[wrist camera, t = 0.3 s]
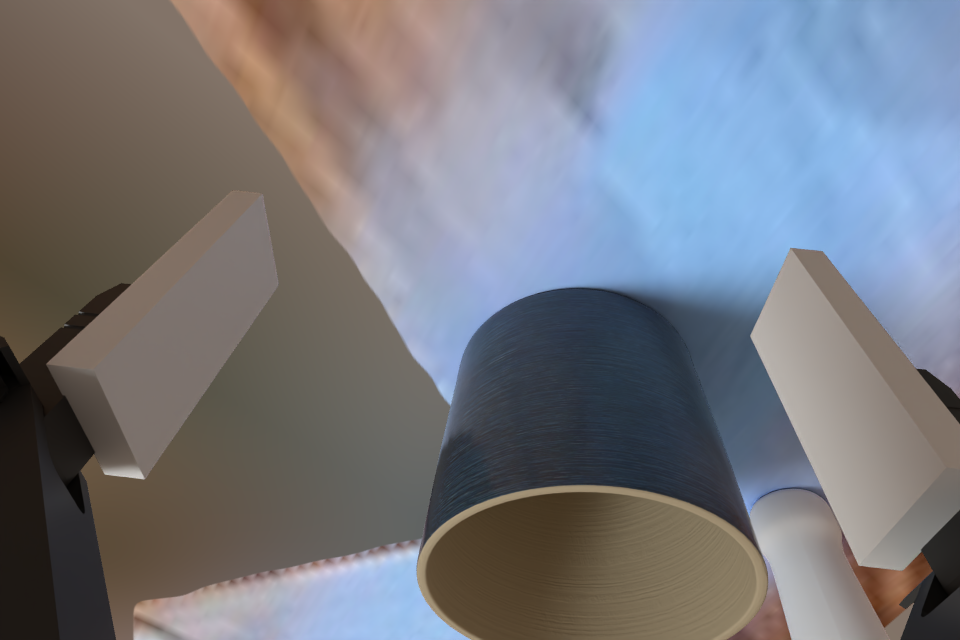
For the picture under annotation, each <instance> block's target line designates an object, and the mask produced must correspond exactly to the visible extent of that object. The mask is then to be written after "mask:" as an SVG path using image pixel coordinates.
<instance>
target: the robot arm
mask: <svg viewBox="0 0 960 640" xmlns="http://www.w3.org/2000/svg"><path fill="white" fill-rule="evenodd" d="M278 285H279V283H278V277H277V273H276V266H275V260H274V255H273V249H272V244H271V238H270V233H269V227H268V221H267V216H266V210H265V205H264V199H263V194H262V193H253V192H244V191H235V190H232V191H231V193H229V194H228V195H227V196H226V197H225V198H224V199H223V200H222V201H221V202H220V203H219V204H217V205H216V206H215V207H214V208H213V209H212V210H211V211H210V212H209V213H208V214H207V215H206V216H205V217H203V218H202V219H201V220H200V221H199V222H198V223H197V224H196V225H195V226H194V227H193V228H192V229H191V230H190V231H189V232H187V233H186V234H185V235H184V236H183V237H182V238H181V239H180V240H179V241H178V242H177V243H176V244H174V245H173V246H172V247H171V248H170V249H169V250H168V251H167V252H166V253H165V254H164V255H163V256H162V257H161V258H159V259H158V261H156V262H155V263H154V264H153V265H152V266H151V267H150V268H149V269H148V270H147V271H146V272H144V273H143V274H142V275H141V276H140V277H139V278H138V279H137V280H136V281H135V282H134V283H133V284H122V283H121V284H119V285H117V286H115V287H113V288H111V289H109V290H107V291H105V292H103V293H101V294H99V295H97V296H96V297H95V298H94V299H92V300H91V301H90V302H89V303H88V304H87V305H86V306H85V307H84V308H82V309H81V310H80V311H79V314H78V315H74V316H73V317H72V318H71V319H70V320H69V321H68V322H66V323H65V326H64V328H60V329H58V331H56V332H55V333H54V334H53V335H52V336H51V337H50V338H48V339H47V340H46V341H45V342H44V343H43V344H42V345H40V346H39V347H38V348H37V349H36V350H35V351H34V352H33V353H32V354H30V355H29V356H28V357H27V358H26V359H25V360H24V361H22V362H21V363H20V364H19V363H18V361H17V359H16V358H15V356H14V354H13V352H12V351H11V349H10V347H9V345H8V344H7V342H6V340H5V338H3V337H1V336H0V640H116V637H115V632H114V627H113V621H112V616H111V611H110V605H109V600H108V595H107V589H106V584H105V578H104V573H103V567H102V562H101V557H100V552H99V546H98V541H97V535H96V530H95V524H94V519H93V514H92V508H91V503H90V498H89V492H88V487H87V482H86V480H85V478H84V476H83V475H82V473H81V471H80V470H81V469H82V468H83V466H84V465H85V464H86V463H87V462H88V460H89V459H90V458H91V457H92V455H93V454H94V455H95V457H96V459H97V461H98V463H99V464H100V466H101V468H102V470H103V472H104V474H106V475H115V476H123V477H131V478H139V479H145V478H146V477H147V475H148V474H149V472H150V471H151V469H152V468H153V466H154V465H155V464H156V462H157V461H158V459H159V458H160V456H161V455H162V453H163V452H164V451H165V449H166V448H167V446H168V445H169V443H170V442H171V440H172V439H173V437H174V436H175V434H176V433H177V432H178V430H179V429H180V427H181V426H182V424H183V423H184V422H185V420H186V418H187V417H188V416H189V414H190V413H191V411H192V410H193V408H194V407H195V406H196V404H197V403H198V401H199V400H200V398H201V397H202V395H203V394H204V392H205V391H206V390H207V388H208V387H209V385H210V384H211V382H212V381H213V379H214V378H215V377H216V375H217V374H218V372H219V371H220V369H221V368H222V366H223V365H224V364H225V362H226V361H227V359H228V358H229V356H230V355H231V353H232V352H233V350H234V349H235V348H236V346H237V345H238V343H239V342H240V340H241V339H242V337H243V336H244V334H245V333H246V331H247V330H248V329H249V327H250V326H251V324H252V323H253V321H254V320H255V319H256V317H257V315H258V314H259V313H260V311H261V310H262V308H263V307H264V305H265V304H266V303H267V301H268V300H269V298H270V297H271V295H272V294H273V293H274V291H275V289H276V288H277V287H278ZM750 337H751V339H752V341H753V343H754V345H755V347H756V349H757V351H758V353H759V356H760V358H761V360H762V362H763V364H764V366H765V368H766V370H767V372H768V375H769V377H770V379H771V381H772V383H773V385H774V387H775V389H776V391H777V394H778V396H779V398H780V400H781V402H782V404H783V406H784V408H785V410H786V413H787V415H788V417H789V419H790V421H791V423H792V425H793V427H794V429H795V432H796V434H797V436H798V438H799V440H800V442H801V444H802V446H803V448H804V451H805V453H806V455H807V457H808V459H809V461H810V463H811V465H812V467H813V470H814V472H815V474H816V476H817V478H818V480H819V482H820V484H821V486H822V489H823V491H824V493H825V495H826V497H827V499H828V501H829V503H830V505H831V508H832V510H833V512H834V514H835V516H836V518H837V520H838V522H839V524H840V527H841V529H842V531H843V533H844V535H845V537H846V539H847V541H848V543H849V546H850V548H851V550H852V552H853V554H854V556H855V558H856V560H857V562H858V565H859V566H867V567H875V568H884V569H892V570H900V571H903V570H904V569H905V568H906V567H907V566H908V565H909V564H910V563H911V562H912V561H913V560H914V559H915V558H916V557H917V556H918V555H919V554H920V553H921V552H922V553H923V554H924V556H925V558H926V559H927V561H928V563H929V565H930V566H931V568H932V570H933V572H932V573H931V574H930V575H929V576H928V577H926V578H925V579H924V580H923V581H922V582H921V583H920V584H919V585H918V586H917V587H916V588H915V589H914V590H913V591H912V592H911V593H910V594H908V595H907V596H906V597H905V598H904V599H903V601H902V602H901V603H900V604H899V605H900V606H902V607H903V608H905V609H906V608H908V607H909V606H910V605H911V604H912V603H914V605H913V608H912V610H911V613H910V616H909V619H908V621H907V624H906V626H905V629H904V632H903V635H902V637H901V640H960V399H959V398H958V397H957V395H956V394H955V393H954V392H953V391H952V389H951V388H949V387H948V386H947V385H945V384H944V383H943V382H941V381H940V380H939V379H937V378H936V377H935V376H933V375H932V374H931V373H929V372H928V371H927V370H923V369H916V368H915V367H914V366H913V365H912V363H911V362H910V361H909V360H908V358H907V357H906V356H905V355H904V353H903V352H902V351H901V349H900V348H899V347H898V346H897V344H896V343H895V342H894V341H893V339H892V338H891V337H890V336H889V334H888V333H887V332H886V331H885V329H884V328H883V327H882V326H881V324H880V323H879V322H878V321H877V319H876V318H875V317H874V315H873V314H872V313H871V312H870V310H869V309H868V308H867V307H866V305H865V304H864V303H863V302H862V300H861V299H860V298H859V297H858V295H857V294H856V293H855V292H854V290H853V289H852V288H851V287H850V285H849V284H848V283H847V281H846V280H845V279H844V278H843V276H842V275H841V274H840V273H839V271H838V270H837V269H836V268H835V266H834V265H833V264H832V263H831V261H830V260H829V259H828V258H827V256H826V255H825V254H824V253H823V251H815V250H805V249H796V248H790V251H789V253H788V255H787V257H786V259H785V261H784V264H783V266H782V268H781V270H780V272H779V274H778V277H777V279H776V281H775V283H774V285H773V288H772V290H771V292H770V294H769V296H768V298H767V301H766V303H765V305H764V307H763V309H762V311H761V314H760V316H759V318H758V320H757V322H756V324H755V327H754V329H753V331H752V333H751V335H750Z"/></svg>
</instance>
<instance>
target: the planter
mask: <svg viewBox="0 0 960 640" xmlns="http://www.w3.org/2000/svg"><path fill="white" fill-rule="evenodd" d="M417 580H418V584H419V588H420V590H421V593H422V595H423V597H424V599H425V600H426V602H427V603H428V605H429V606H430V607H431V609H432V610H433V611H434V612H435V613H436V614H437V615H438V616H439V617H440V618H441V619H442V620H443V621H444V622H445V623H447V624H448V625H449V626H450V627H452V628H453V629H455V630H456V631H458V632H459V633H461V634H463V635H464V636H466V637H468V638H470V639H471V640H727V639H728V638H730V637H732V636H733V635H735V634H736V633H737V632H739V631H740V630H741V629H743V628H744V627H745V626H746V625H747V624H748V623H749V622H750V621H751V620H752V619H753V618H754V617H755V615H756V614H757V613H758V611H759V610H760V608H761V606H762V604H763V602H764V600H765V597H766V594H767V590H768V572H767V568H766V564H765V561H764V558H763V555H762V552H761V549H760V546H759V544H758V541H757V538H756V535H755V532H754V529H753V526H752V523H751V521H750V518H749V515H748V512H747V509H746V506H745V503H744V501H743V498H742V495H741V492H740V489H739V486H738V483H737V481H736V478H735V475H734V472H733V469H732V467H731V464H730V461H729V458H728V456H727V453H726V450H725V447H724V445H723V442H722V439H721V437H720V434H719V431H718V429H717V426H716V423H715V421H714V418H713V416H712V413H711V410H710V408H709V405H708V403H707V400H706V397H705V395H704V392H703V390H702V387H701V384H700V382H699V379H698V376H697V374H696V371H695V368H694V365H693V363H692V360H691V357H690V355H689V352H688V350H687V347H686V345H685V344H684V342H683V340H682V338H681V337H680V335H679V334H678V332H677V331H676V330H675V329H674V328H673V326H672V325H671V324H670V323H669V322H668V321H667V320H666V319H664V318H663V317H662V316H661V315H659V314H658V313H657V312H655V311H654V310H652V309H651V308H649V307H647V306H646V305H644V304H642V303H640V302H638V301H635V300H633V299H630V298H628V297H625V296H622V295H618V294H615V293H610V292H605V291H600V290H591V289H564V290H555V291H549V292H544V293H540V294H536V295H533V296H529V297H527V298H524V299H521V300H519V301H517V302H514V303H512V304H510V305H509V306H507V307H505V308H503V309H502V310H500V311H499V312H497V313H496V314H494V315H493V316H492V317H490V318H489V319H488V320H487V321H486V322H485V323H484V324H483V325H482V326H481V327H480V328H479V329H478V330H477V331H476V333H475V334H474V335H473V336H472V338H471V340H470V341H469V343H468V345H467V347H466V349H465V351H464V354H463V356H462V360H461V363H460V367H459V372H458V377H457V381H456V386H455V390H454V394H453V399H452V403H451V407H450V411H449V415H448V420H447V424H446V428H445V433H444V437H443V441H442V446H441V450H440V454H439V459H438V464H437V469H436V473H435V478H434V482H433V487H432V492H431V497H430V502H429V506H428V512H427V517H426V521H425V526H424V531H423V536H422V541H421V546H420V551H419V556H418V561H417Z"/></svg>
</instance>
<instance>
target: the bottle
mask: <svg viewBox="0 0 960 640" xmlns="http://www.w3.org/2000/svg"><path fill="white" fill-rule="evenodd" d="M750 521H751V523H752V526H753V529H754V532H755V535H756V538H757V541H758V544H759V546H760V549H761V552H762V554H763V555H764V556H765V557H766V558H767V560H768V561H769V563H770V566H771V568H772V571H773V574H774V577H775V581H776V584H777V588H778V592H779V595H780V599H781V603H782V606H783V610H784V613H785V617H786V621H787V624H788V628H789V632H790V635H791V639H792V640H890V639H889V637H888V635H887V633H886V631H885V629H884V627H883V626H882V624H881V622H880V620H879V618H878V616H877V614H876V613H875V611H874V609H873V607H872V605H871V603H870V601H869V600H868V598H867V596H866V594H865V592H864V590H863V588H862V587H861V585H860V583H859V581H858V579H857V577H856V575H855V574H854V572H853V570H852V568H851V566H850V564H849V562H848V560H847V558H846V556H845V554H844V551H843V546H842V533H841V528H840V526H839V524H838V522H837V520H836V518H835V516H834V514H833V512H832V510H831V508H830V507H829V505H828V504H827V503H826V501H825V500H823V499H822V498H821V497H820V496H818V495H817V494H815V493H813V492H811V491H808V490H803V489H784V490H778V491H775V492H771V493H769V494H767V495H765V496H763V497H762V498H760V499H759V500H757V501H756V503H755V504H754V505H753V507H752V509H751V512H750Z"/></svg>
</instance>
